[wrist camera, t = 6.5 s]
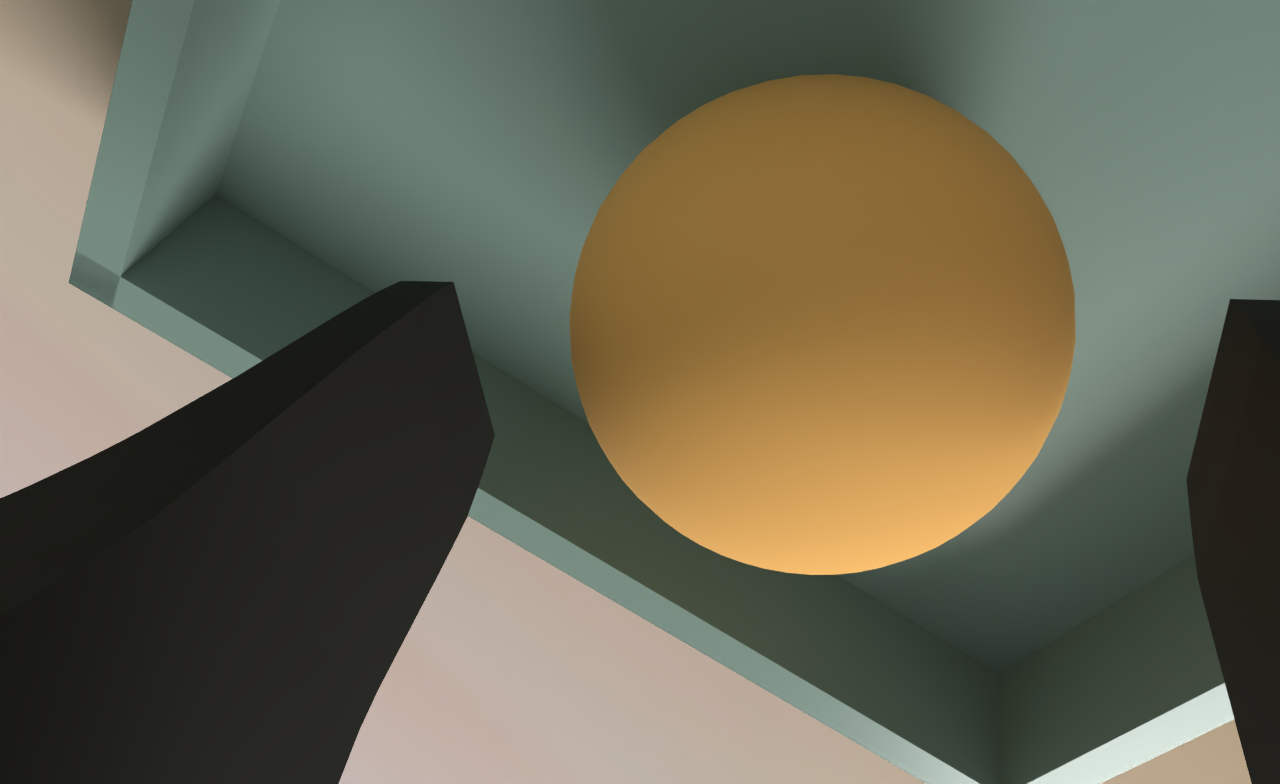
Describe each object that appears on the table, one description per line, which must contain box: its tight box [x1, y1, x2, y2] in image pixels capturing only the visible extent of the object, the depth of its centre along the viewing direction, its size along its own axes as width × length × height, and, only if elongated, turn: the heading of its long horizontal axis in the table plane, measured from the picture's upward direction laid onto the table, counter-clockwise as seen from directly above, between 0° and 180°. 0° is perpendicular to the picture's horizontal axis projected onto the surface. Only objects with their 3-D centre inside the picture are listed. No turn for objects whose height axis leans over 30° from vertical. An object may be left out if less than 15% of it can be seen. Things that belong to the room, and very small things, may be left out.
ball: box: [569, 74, 1076, 575], centre depth 11 cm, size 5×5×5 cm
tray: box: [69, 0, 1280, 784], centre depth 12 cm, size 15×11×3 cm
